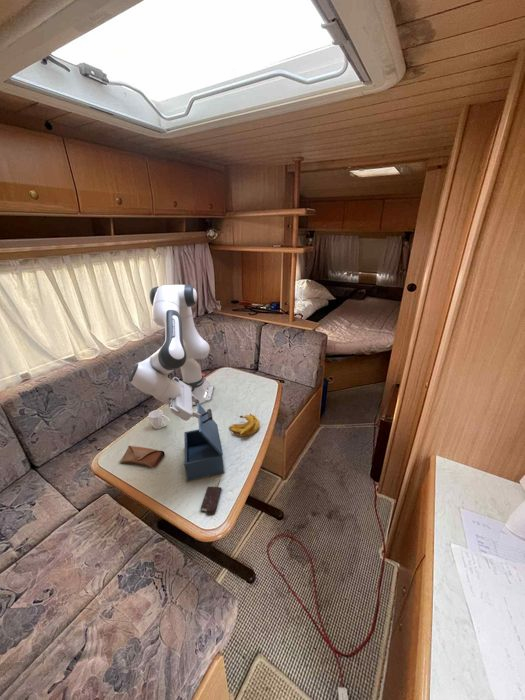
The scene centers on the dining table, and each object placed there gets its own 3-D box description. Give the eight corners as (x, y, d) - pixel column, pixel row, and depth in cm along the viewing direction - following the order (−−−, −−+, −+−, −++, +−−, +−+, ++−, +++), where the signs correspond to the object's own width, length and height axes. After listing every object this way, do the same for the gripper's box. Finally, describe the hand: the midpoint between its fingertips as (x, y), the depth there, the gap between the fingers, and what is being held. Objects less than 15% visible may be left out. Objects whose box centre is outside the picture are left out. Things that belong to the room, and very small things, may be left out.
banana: (262, 417, 147) (261, 408, 145) (256, 442, 130) (255, 432, 128) (234, 415, 150) (233, 406, 147) (225, 439, 132) (224, 430, 130)
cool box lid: (199, 432, 103) (210, 424, 103) (196, 403, 121) (206, 397, 121) (221, 456, 110) (232, 449, 111) (215, 425, 128) (225, 419, 128)
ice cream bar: (211, 478, 111) (200, 513, 98) (211, 475, 111) (199, 510, 97) (224, 479, 111) (214, 514, 97) (223, 476, 110) (214, 511, 97)
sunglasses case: (118, 463, 120) (120, 447, 121) (128, 459, 127) (130, 444, 127) (155, 468, 116) (157, 452, 117) (163, 464, 123) (165, 448, 124)
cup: (155, 421, 147) (152, 409, 143) (172, 422, 145) (170, 410, 142) (148, 430, 140) (145, 417, 137) (167, 431, 139) (164, 418, 136)
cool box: (187, 480, 111) (184, 464, 107) (187, 447, 128) (184, 432, 125) (224, 472, 114) (222, 456, 111) (218, 440, 132) (216, 425, 128)
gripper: (174, 401, 95) (205, 419, 101) (175, 374, 113) (202, 390, 119) (163, 414, 96) (195, 430, 102) (166, 385, 114) (193, 401, 120)
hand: (199, 409), depth 111 cm, fingers open, 8 cm apart
